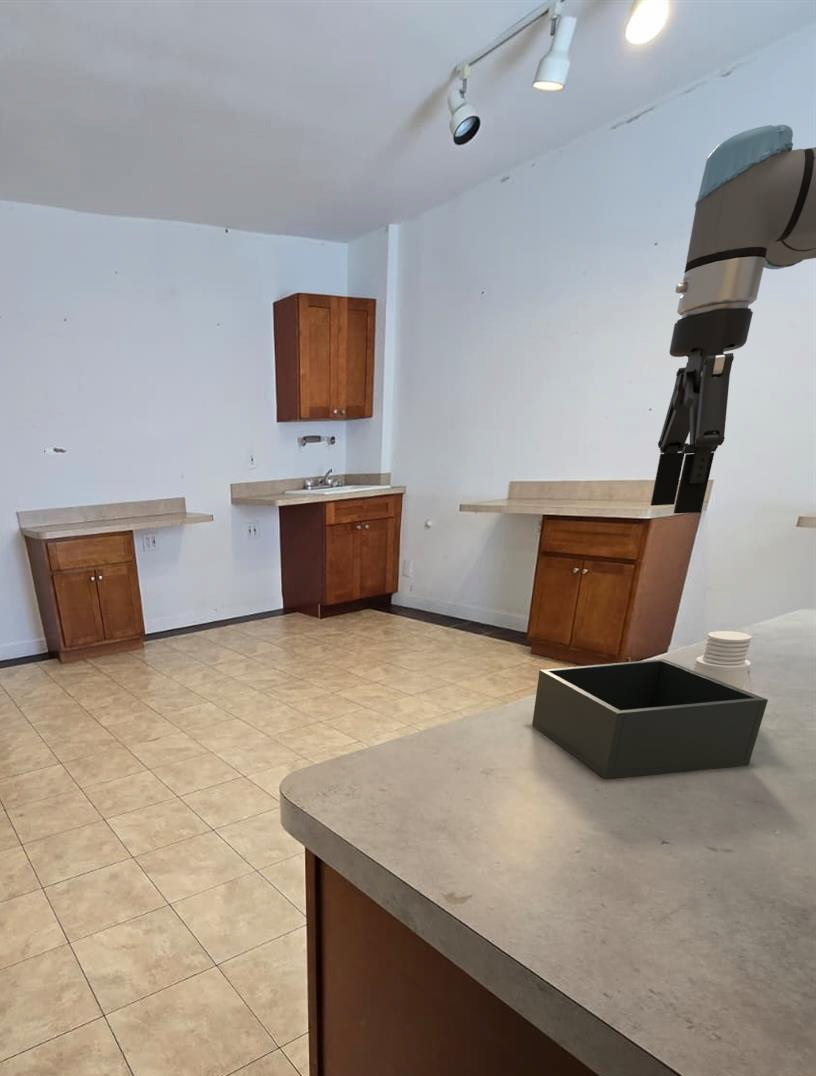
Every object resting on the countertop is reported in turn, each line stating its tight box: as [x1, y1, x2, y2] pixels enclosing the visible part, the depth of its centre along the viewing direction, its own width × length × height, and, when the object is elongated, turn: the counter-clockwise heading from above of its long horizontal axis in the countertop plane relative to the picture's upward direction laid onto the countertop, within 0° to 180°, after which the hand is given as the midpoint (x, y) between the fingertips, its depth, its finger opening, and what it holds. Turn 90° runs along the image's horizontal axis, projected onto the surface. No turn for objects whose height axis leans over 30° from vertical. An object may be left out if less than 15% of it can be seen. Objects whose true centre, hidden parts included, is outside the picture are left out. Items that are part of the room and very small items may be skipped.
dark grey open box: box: [531, 658, 769, 780], centre depth 77 cm, size 17×17×8 cm
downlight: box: [693, 630, 753, 694], centre depth 85 cm, size 8×7×10 cm
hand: (673, 509), depth 83 cm, fingers open, 13 cm apart
